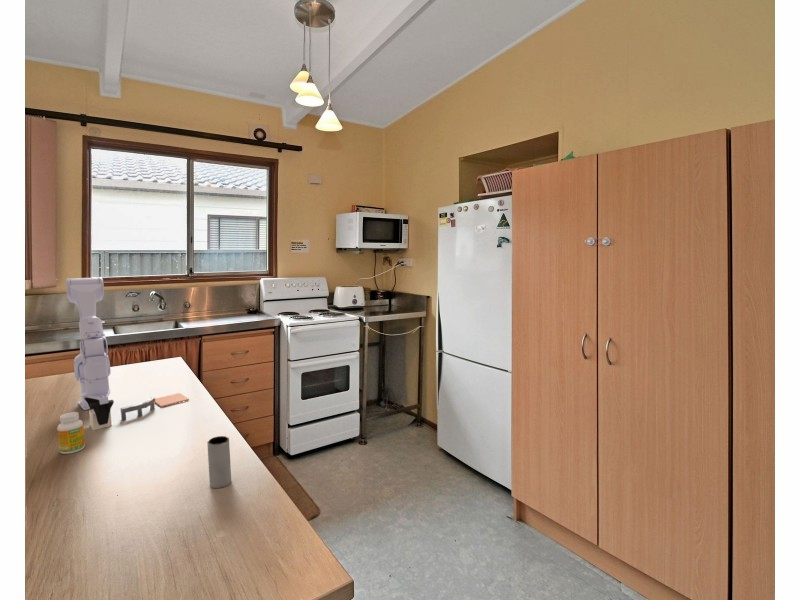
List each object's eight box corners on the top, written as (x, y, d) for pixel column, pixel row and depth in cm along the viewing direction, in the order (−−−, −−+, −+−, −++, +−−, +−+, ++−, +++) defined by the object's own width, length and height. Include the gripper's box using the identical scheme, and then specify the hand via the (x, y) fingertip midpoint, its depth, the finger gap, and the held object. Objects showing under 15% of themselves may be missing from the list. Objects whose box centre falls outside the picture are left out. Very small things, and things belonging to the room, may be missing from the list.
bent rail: (118, 416, 135) (117, 405, 135) (154, 407, 143) (154, 397, 142) (122, 420, 132) (121, 409, 131) (159, 411, 140) (158, 400, 139)
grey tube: (223, 475, 100) (221, 434, 99) (235, 481, 97) (233, 439, 96) (205, 484, 96) (203, 441, 95) (217, 490, 94) (214, 446, 92)
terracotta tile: (152, 401, 149) (152, 399, 149) (179, 394, 155) (179, 392, 155) (161, 407, 143) (161, 405, 143) (189, 400, 149) (189, 398, 149)
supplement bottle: (71, 455, 110) (67, 419, 109) (54, 453, 111) (50, 418, 110) (90, 445, 115) (87, 411, 114) (73, 444, 116) (70, 410, 115)
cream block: (90, 425, 128) (88, 410, 128) (107, 421, 132) (106, 406, 131) (93, 430, 125) (92, 414, 125) (111, 425, 129) (110, 409, 128)
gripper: (75, 375, 129) (79, 418, 130) (85, 386, 119) (90, 432, 120) (102, 370, 134) (106, 411, 135) (115, 380, 124) (118, 424, 126)
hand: (100, 421), depth 128 cm, fingers open, 6 cm apart
